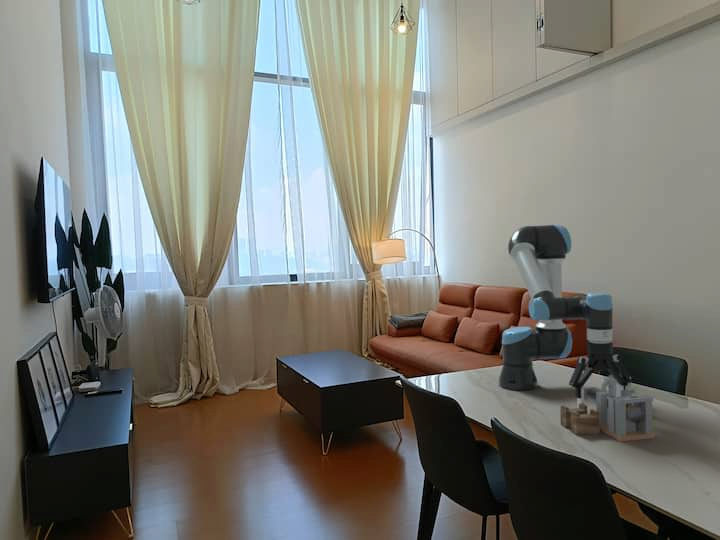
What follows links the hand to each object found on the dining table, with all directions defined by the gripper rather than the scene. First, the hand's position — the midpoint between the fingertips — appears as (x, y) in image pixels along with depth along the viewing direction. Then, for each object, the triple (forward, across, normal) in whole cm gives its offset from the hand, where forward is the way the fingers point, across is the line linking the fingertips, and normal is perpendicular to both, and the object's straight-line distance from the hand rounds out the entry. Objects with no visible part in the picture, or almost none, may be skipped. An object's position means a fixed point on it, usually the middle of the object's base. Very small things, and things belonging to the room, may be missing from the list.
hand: (600, 406), depth 162 cm
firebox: (+4, 0, -8) cm, 9 cm away
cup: (+4, +16, +16) cm, 23 cm away
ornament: (+4, +13, +4) cm, 14 cm away
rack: (+4, -11, -6) cm, 13 cm away
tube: (-1, 0, -7) cm, 7 cm away
